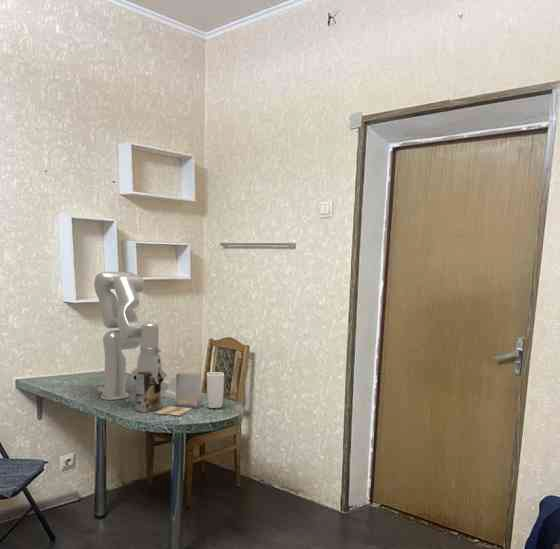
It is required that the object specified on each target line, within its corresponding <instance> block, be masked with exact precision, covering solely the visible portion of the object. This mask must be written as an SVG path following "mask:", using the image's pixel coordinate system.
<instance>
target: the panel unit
mask: <svg viewBox="0 0 560 549" xmlns="http://www.w3.org/2000/svg"><path fill="white" fill-rule="evenodd" d="M175 376H176V377H175V378H176V399H175V403H174V404H172V407H183V408H191V409H192V408H195V410H199V409H201V408H202V407H203V406H204V404H203V403H201V397H202V396H201V392H202V391H201V389H202V386H201V385H202V380H201V379H202V374H201V373H196V372H195V373H193V372H180V371H179V372H178V373H176V375H175Z"/></svg>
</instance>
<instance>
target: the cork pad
mask: <svg viewBox="0 0 560 549" xmlns="http://www.w3.org/2000/svg"><path fill="white" fill-rule="evenodd" d="M190 410H191V411H192V408H183V407H173V405H172V406H169V405H166V406H164V407H161V408H160V409H157V411H156V410H155V411H154V412H153V415H156V414H158V415H159V416H166V415H171V416H170V417H176V416H180V417H182V416H184V415H186V414H187V413H189V412H191V411H190ZM188 411H189V412H188ZM183 414H184V415H183ZM181 415H182V416H181Z"/></svg>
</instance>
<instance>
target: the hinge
mask: <svg viewBox="0 0 560 549" xmlns="http://www.w3.org/2000/svg"><path fill="white" fill-rule="evenodd" d="M163 396H166V397H168V398H172V399H174V400H176V377H173V378H171V380H170V382H169V385H168V386H167V389H166V390H164V393H163Z"/></svg>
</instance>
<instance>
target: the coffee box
mask: <svg viewBox="0 0 560 549" xmlns="http://www.w3.org/2000/svg"><path fill="white" fill-rule="evenodd" d="M158 375H160V373H158ZM159 377H160V378H161V377H162V376H159ZM155 384H156V382H155V380H154V379H153V378H152V374H149V373H136V380H135V403H134V404H135V408H134V410H135V411H137V412H141V413H147V412H152V411H156V410H160V409H162V407H161V406H162V389H161V390H160V392H159V393H157V394H155Z"/></svg>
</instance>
